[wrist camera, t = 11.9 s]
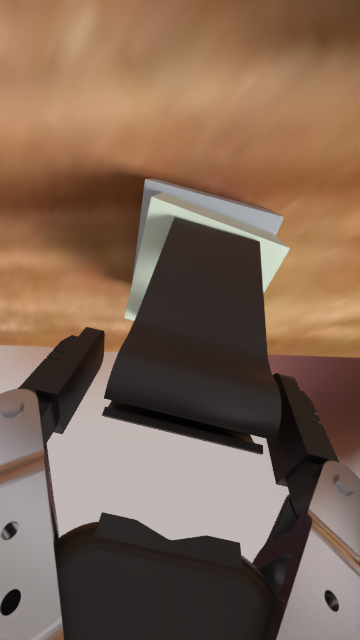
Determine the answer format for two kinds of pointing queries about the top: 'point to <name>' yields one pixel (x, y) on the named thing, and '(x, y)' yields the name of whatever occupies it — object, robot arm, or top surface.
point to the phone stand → (200, 344)
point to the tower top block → (171, 206)
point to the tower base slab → (210, 201)
